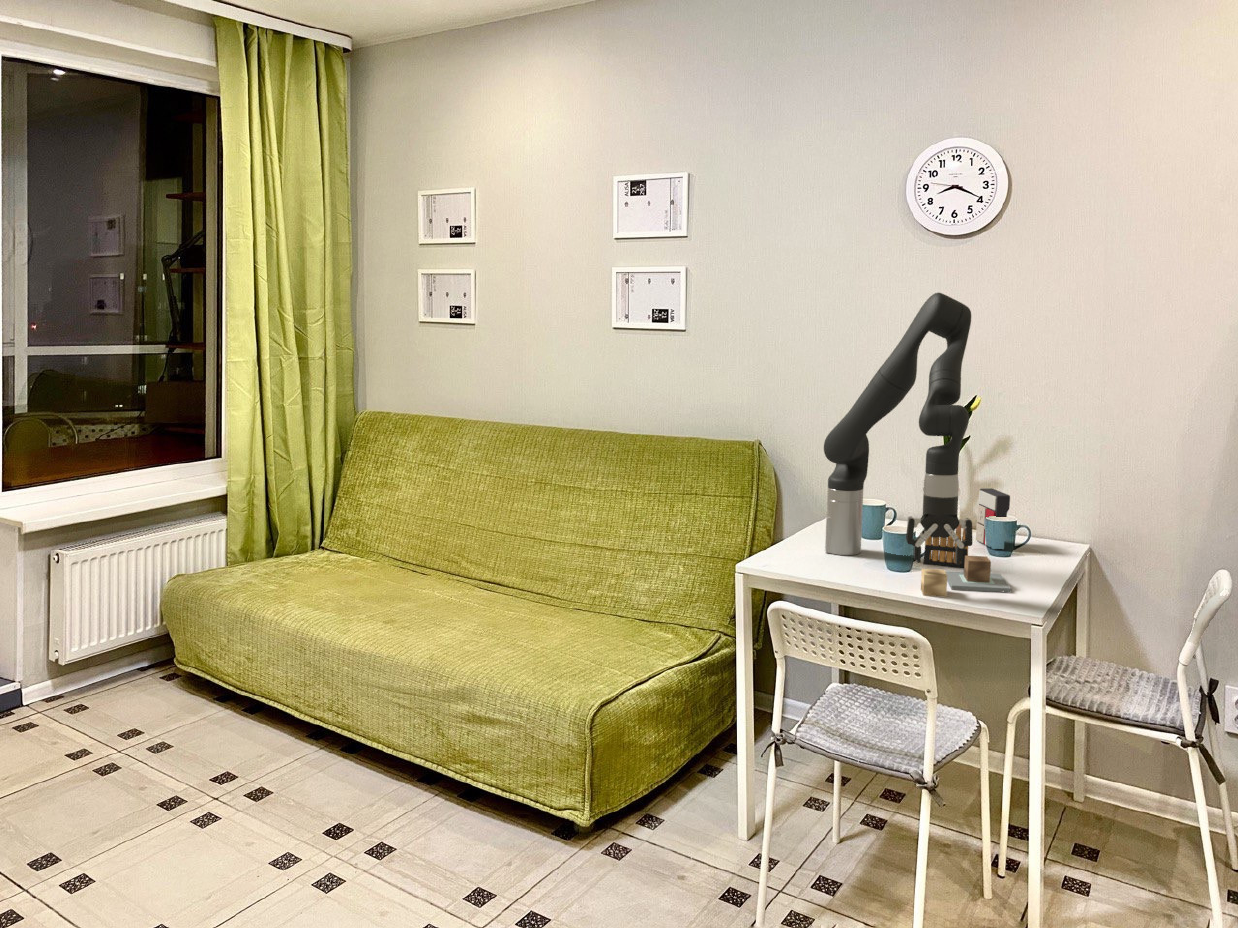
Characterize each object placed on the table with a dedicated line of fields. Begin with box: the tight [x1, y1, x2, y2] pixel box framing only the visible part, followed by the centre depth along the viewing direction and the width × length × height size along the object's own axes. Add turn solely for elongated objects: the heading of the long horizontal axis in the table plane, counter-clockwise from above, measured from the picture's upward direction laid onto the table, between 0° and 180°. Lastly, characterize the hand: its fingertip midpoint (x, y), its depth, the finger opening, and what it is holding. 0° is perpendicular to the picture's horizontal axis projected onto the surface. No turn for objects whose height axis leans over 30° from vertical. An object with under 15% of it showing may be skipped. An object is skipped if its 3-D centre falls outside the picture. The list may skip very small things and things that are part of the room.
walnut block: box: [963, 555, 992, 583], centre depth 239 cm, size 5×5×5 cm
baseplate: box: [945, 570, 1012, 593], centre depth 240 cm, size 13×13×1 cm
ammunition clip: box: [922, 524, 969, 570], centre depth 255 cm, size 11×2×12 cm, turn 65°
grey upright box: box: [975, 488, 1011, 546], centre depth 277 cm, size 11×4×15 cm, turn 5°
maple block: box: [920, 568, 948, 598], centre depth 232 cm, size 5×5×5 cm
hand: (938, 563), depth 231 cm, fingers open, 8 cm apart
